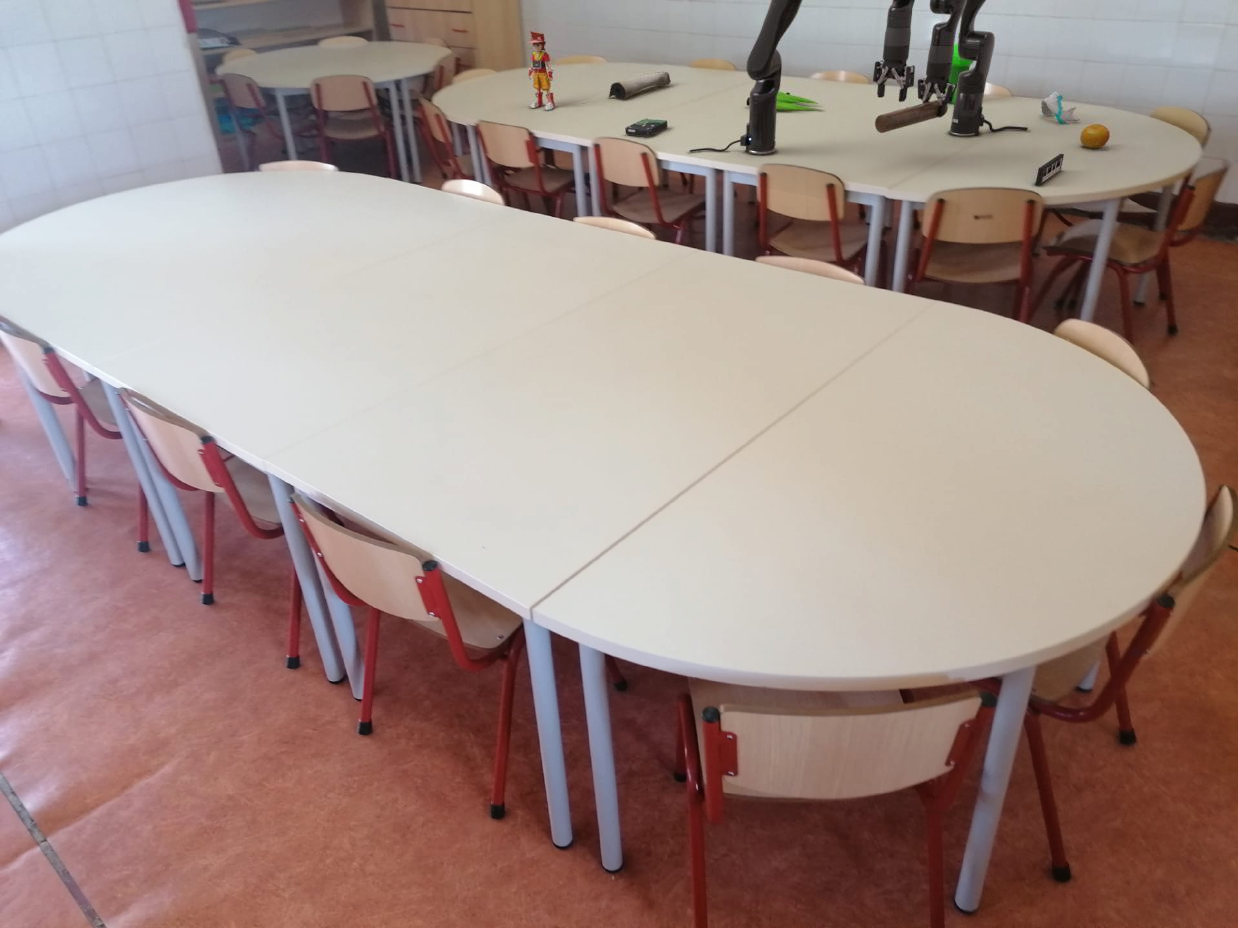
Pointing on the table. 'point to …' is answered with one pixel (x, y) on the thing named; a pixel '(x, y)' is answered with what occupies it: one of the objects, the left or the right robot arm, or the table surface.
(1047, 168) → the midi keyboard
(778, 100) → the toy
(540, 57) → the toy
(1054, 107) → the anatomical model
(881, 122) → the rod
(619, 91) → the rolled mat
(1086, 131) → the fruit
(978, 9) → the right robot arm
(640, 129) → the disk drive
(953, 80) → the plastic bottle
